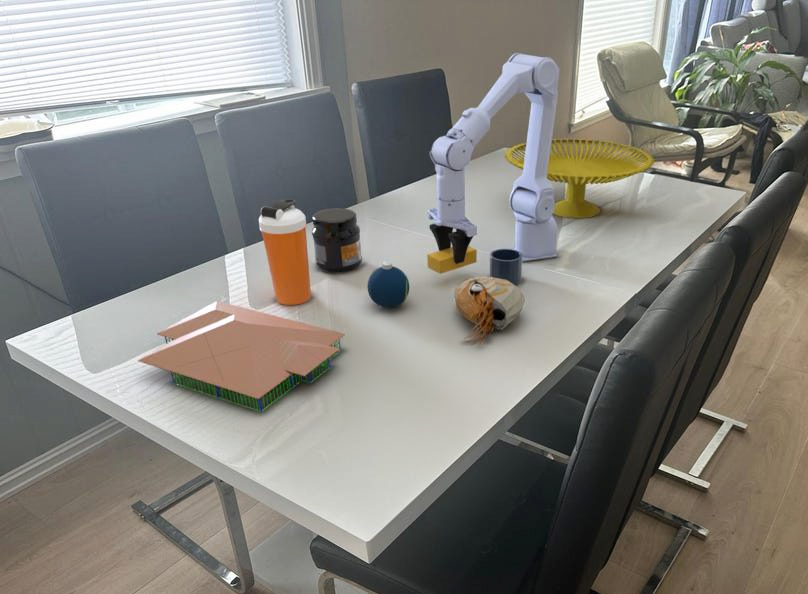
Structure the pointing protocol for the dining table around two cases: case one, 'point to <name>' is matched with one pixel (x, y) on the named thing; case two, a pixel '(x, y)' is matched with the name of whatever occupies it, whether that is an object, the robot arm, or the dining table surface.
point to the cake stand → (584, 171)
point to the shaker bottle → (286, 251)
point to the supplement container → (336, 240)
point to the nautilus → (488, 303)
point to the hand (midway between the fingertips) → (452, 258)
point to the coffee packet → (449, 260)
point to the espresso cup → (506, 265)
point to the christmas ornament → (388, 286)
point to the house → (243, 351)
